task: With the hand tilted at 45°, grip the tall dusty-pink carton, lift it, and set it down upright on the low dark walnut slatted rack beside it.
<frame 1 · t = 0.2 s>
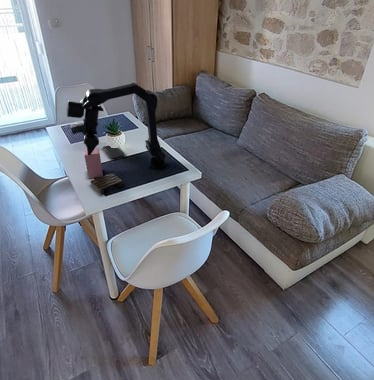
hand: (88, 150, 145), 15 cm above the table, tool pointing down, fingers open, 9 cm apart
phone: (113, 152, 177), on the table
rack: (106, 186, 148), on the table
box: (95, 174, 157), on the table
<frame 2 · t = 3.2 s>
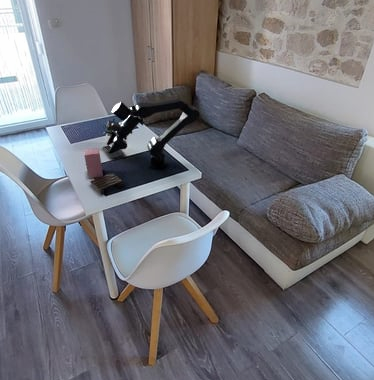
hand: (108, 148, 151), 13 cm above the table, tool tilted 45°, fingers open, 9 cm apart
nothing on the table moved.
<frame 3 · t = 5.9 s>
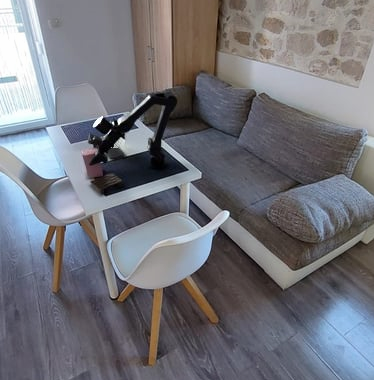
hand: (89, 161, 152), 7 cm above the table, tool tilted 45°, fingers closed on box, 6 cm apart
box: (95, 174, 157), on the table, touching gripper
everything else where it was.
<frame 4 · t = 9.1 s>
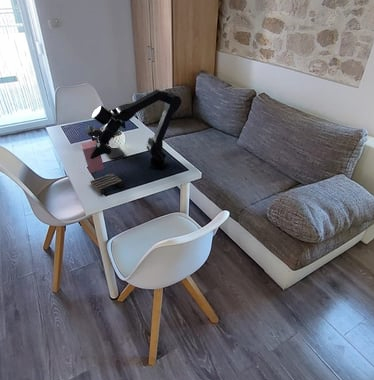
hand: (89, 155, 145), 13 cm above the table, tool tilted 45°, fingers closed on box, 6 cm apart
box: (96, 167, 150), point 6 cm above the table, tilted 6°, touching gripper
everything else where it was.
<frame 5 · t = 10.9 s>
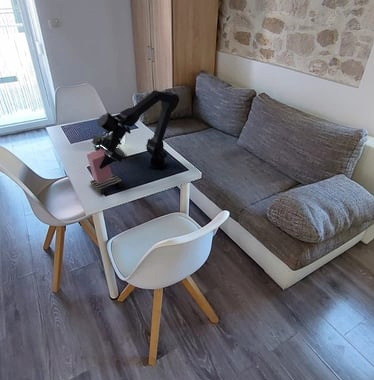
hand: (96, 165, 139), 12 cm above the table, tool tilted 45°, fingers closed on box, 6 cm apart
box: (102, 177, 145), point 5 cm above the table, tilted 6°, touching gripper
everything else where it was.
when the fingers open (11 cm above the table, at t = 12.1 s): box stays where it is, resting on rack.
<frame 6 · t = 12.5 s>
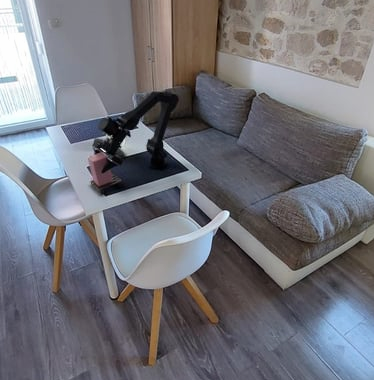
hand: (97, 168, 140), 11 cm above the table, tool tilted 45°, fingers open, 9 cm apart
box: (103, 181, 146), point 3 cm above the table, touching rack
everything else where it was.
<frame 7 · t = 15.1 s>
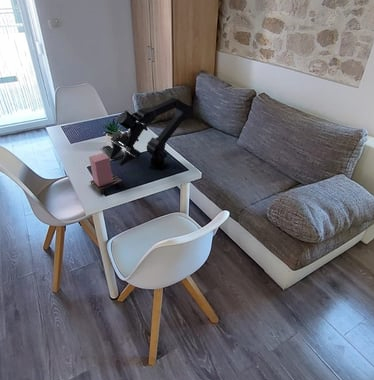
hand: (115, 161, 146), 11 cm above the table, tool tilted 45°, fingers open, 9 cm apart
nothing on the table moved.
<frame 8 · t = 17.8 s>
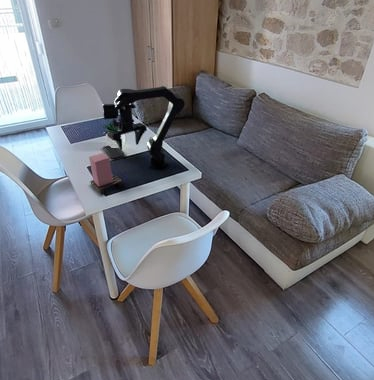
hand: (129, 147, 154), 13 cm above the table, tool pointing down, fingers open, 9 cm apart
nothing on the table moved.
at the end: box inside the target area on the rack (0.5 cm from its centre), point 3.0 cm above the rack's base; box tilted 0°; the gripper is holding nothing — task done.
